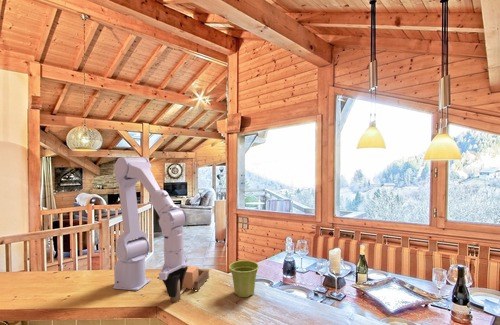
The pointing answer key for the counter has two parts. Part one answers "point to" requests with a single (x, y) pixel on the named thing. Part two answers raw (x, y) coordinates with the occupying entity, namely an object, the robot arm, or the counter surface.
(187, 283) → the tethered block
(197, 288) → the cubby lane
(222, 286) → the counter surface
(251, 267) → the plant pot
